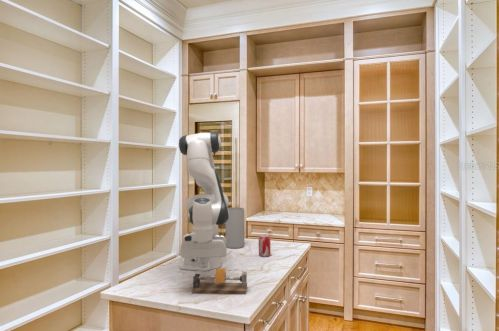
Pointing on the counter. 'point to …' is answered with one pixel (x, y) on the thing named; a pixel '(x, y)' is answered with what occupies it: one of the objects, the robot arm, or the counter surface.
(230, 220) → the cylinder vase
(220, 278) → the notched orange cube
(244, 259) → the counter surface
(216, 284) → the cord board
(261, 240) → the soda can
